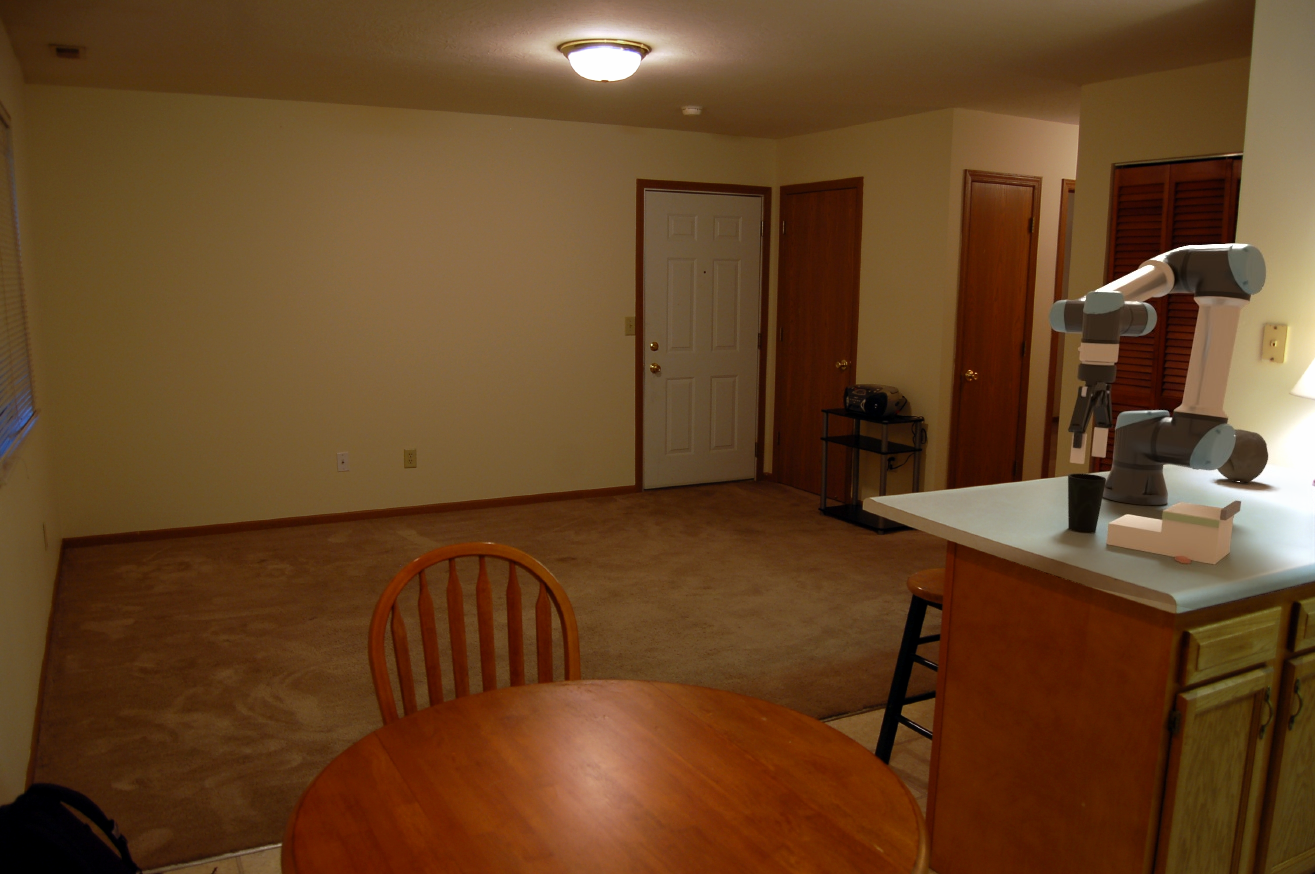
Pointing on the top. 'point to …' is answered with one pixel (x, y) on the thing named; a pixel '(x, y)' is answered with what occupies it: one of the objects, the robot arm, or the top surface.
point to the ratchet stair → (1179, 532)
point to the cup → (1084, 501)
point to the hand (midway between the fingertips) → (1087, 459)
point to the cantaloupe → (1246, 457)
